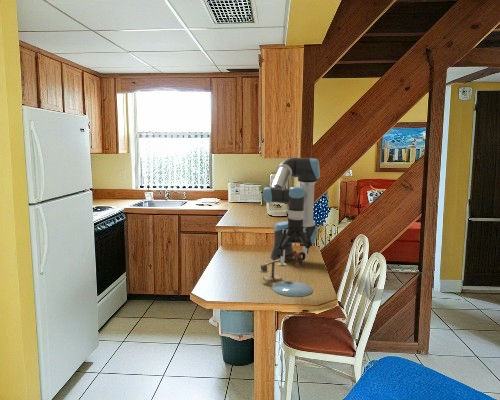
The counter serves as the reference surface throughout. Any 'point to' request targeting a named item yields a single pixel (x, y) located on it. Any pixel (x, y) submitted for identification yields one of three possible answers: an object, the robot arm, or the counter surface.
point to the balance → (272, 277)
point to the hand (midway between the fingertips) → (293, 261)
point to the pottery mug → (297, 256)
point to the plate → (292, 289)
